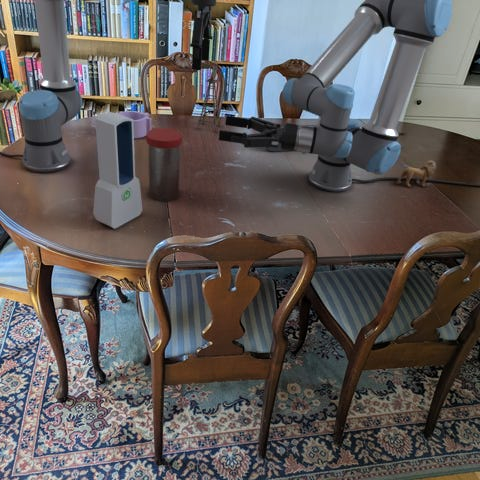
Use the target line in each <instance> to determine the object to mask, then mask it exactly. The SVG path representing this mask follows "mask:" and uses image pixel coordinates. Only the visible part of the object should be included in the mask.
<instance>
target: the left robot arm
mask: <svg viewBox="0 0 480 480" xmlns="http://www.w3.org/2000/svg"><path fill="white" fill-rule="evenodd" d="M190 3H191V4H192V5H193V6H197V9H195V10H194V15H193V16H194V17H193V18H194V19H193V26H192V36H191V41H190V42H191V43H189V47H190V48H192V52H191V53H192V56H191V70H194V71H202V61H204V62H210V52H211V51H210V50H211V49H210V48H211V41H212V40H213V38H214V36H213V33H212V7H215V6H216V5H217V0H190ZM34 9H35V17H36V25H37V35H38V41H39V50H40V51H39V52H40V58H41V67H42V78H41V80H39V82H38V85H39V89H37V90H36V89H35V90H33V91H28V92H25V93H24V94H22V95H21V96H20V98H19V100H18V105H19V106H18V111H19V114H20V119H21V126H22V132H23V136H24V148H23V153H22V154H9V153H4V152H2V151H0V155H1V156H4V157H8V158H21V159H22V160H21V161H22V166H23V168H24V169H25V170H27V171H29V172H33V173H39V174H46V173H56V172H61V171H63V170H66V169H67V168H69V167H70V166H71V163H72V159H71V155H70V153H69V151H68V150H67V149H68V148H67V147H66V145H65V143H64V140H63V132H62V126H64V125H65V124H67V123H68V122H70V121H71V120H73V119H74V118H76V117H77V116H78V114H79V113H80V112H81V110H82V107H83V98H82V93H81V92H80V91H79V90H78V88H77V84H76V81H75V80H74V79H72V77H71V69H70V67H71V66H70V55H69V44H68V43H69V42H68V33H67V22H66V20H67V19H66V10H65V0H34Z"/></svg>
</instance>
